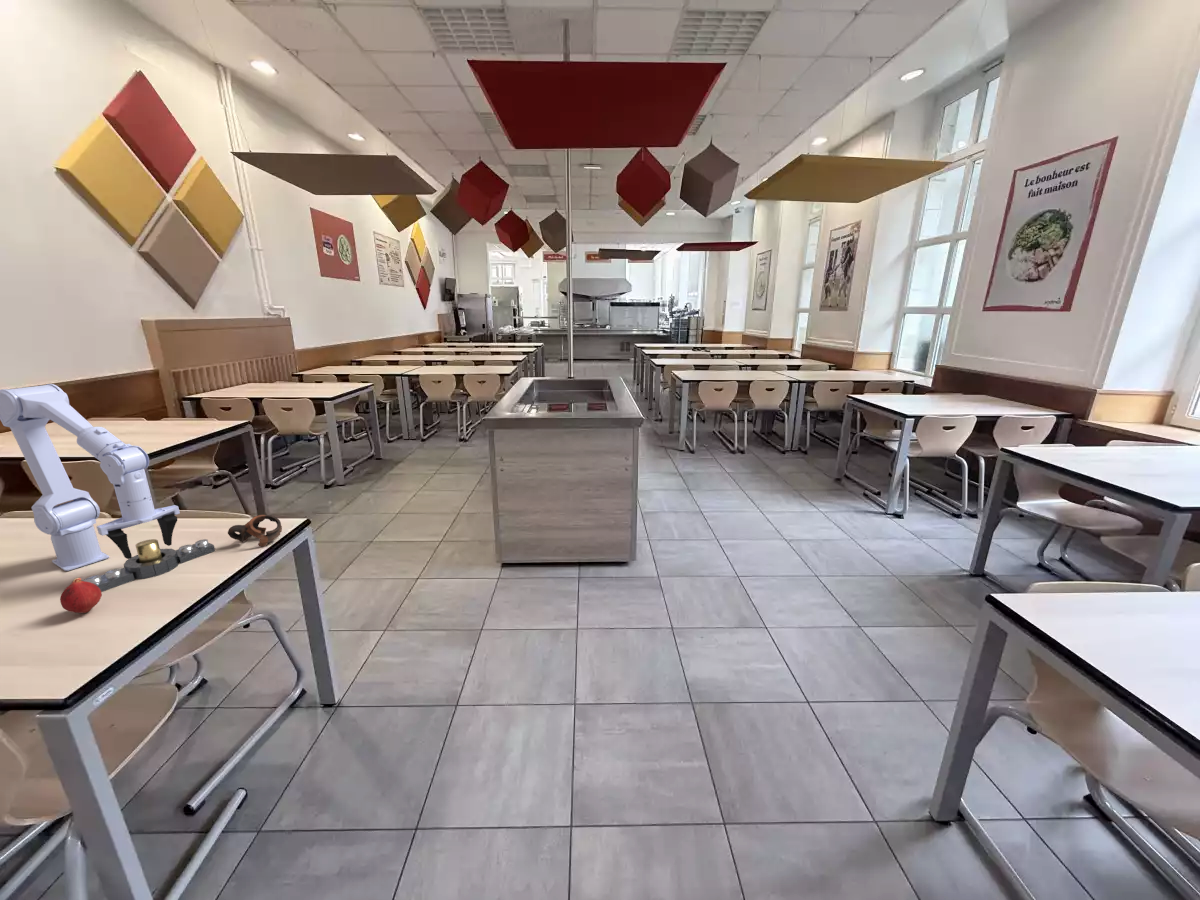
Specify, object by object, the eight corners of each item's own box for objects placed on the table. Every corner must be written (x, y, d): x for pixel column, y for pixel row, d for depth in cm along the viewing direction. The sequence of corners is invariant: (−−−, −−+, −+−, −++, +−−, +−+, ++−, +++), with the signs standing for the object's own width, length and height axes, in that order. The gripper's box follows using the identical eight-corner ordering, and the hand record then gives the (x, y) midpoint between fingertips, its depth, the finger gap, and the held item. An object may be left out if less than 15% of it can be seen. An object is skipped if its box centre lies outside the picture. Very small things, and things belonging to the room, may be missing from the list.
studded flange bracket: (78, 586, 111) (74, 575, 110) (201, 544, 131) (199, 534, 131) (95, 598, 107) (91, 586, 106) (219, 553, 127) (217, 542, 126)
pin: (140, 569, 119) (132, 543, 117) (161, 563, 122) (154, 537, 120) (145, 574, 117) (138, 548, 115) (167, 567, 120) (160, 542, 118)
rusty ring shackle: (276, 531, 141) (282, 510, 138) (280, 555, 136) (286, 535, 132) (224, 533, 133) (229, 511, 129) (226, 559, 127) (231, 537, 124)
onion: (79, 622, 99) (68, 588, 96) (58, 619, 100) (46, 584, 97) (112, 606, 104) (102, 573, 102) (91, 603, 105) (81, 570, 103)
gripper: (100, 512, 106) (116, 568, 110) (180, 492, 118) (192, 542, 122) (87, 506, 109) (103, 560, 113) (166, 486, 122) (178, 536, 125)
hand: (148, 550), depth 118 cm, fingers open, 7 cm apart
